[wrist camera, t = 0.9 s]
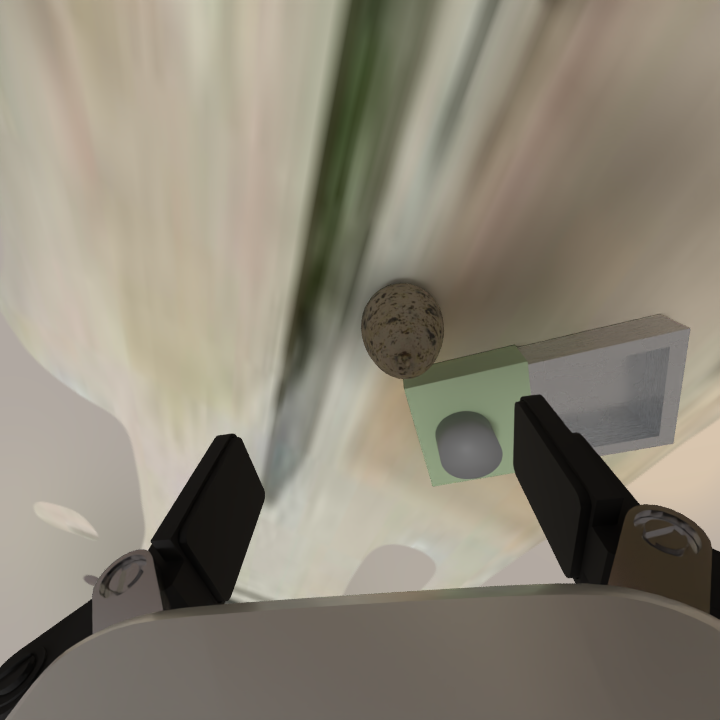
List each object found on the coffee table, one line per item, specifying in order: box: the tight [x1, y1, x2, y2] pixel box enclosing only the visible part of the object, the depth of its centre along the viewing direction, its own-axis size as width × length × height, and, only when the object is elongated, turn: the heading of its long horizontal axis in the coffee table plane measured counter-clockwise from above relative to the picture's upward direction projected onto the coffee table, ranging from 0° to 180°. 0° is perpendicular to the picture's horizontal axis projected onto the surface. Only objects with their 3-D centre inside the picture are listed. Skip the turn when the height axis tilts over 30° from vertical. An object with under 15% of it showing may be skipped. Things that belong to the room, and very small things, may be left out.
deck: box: [403, 345, 531, 486], centre depth 30 cm, size 10×12×6 cm
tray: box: [517, 314, 690, 456], centre depth 30 cm, size 11×11×3 cm
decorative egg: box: [361, 283, 444, 379], centre depth 24 cm, size 6×6×10 cm
